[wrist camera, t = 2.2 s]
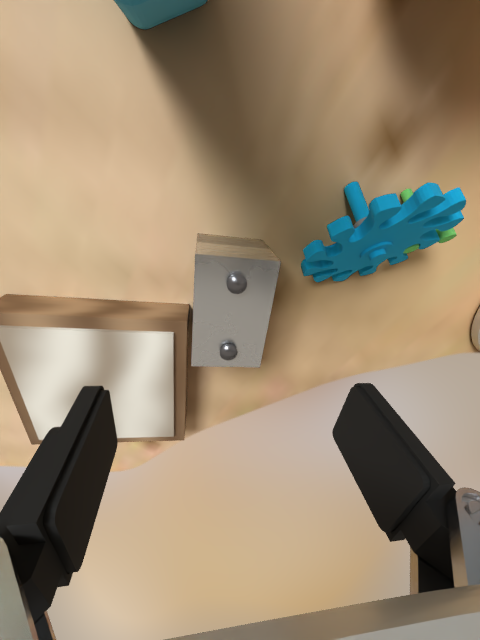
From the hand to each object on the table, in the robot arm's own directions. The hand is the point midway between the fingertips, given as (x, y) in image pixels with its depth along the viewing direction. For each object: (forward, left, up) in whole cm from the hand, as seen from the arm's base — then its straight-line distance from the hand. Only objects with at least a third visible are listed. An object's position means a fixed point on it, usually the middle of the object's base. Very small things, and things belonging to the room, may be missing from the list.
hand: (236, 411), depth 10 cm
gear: (-11, -5, -14) cm, 18 cm away
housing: (-1, 0, -14) cm, 14 cm away
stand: (+9, +9, -13) cm, 19 cm away
